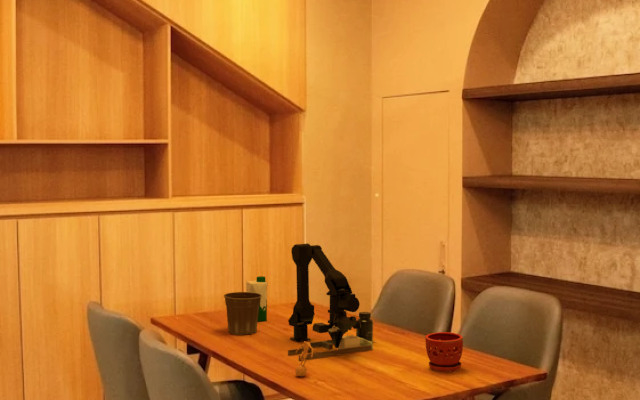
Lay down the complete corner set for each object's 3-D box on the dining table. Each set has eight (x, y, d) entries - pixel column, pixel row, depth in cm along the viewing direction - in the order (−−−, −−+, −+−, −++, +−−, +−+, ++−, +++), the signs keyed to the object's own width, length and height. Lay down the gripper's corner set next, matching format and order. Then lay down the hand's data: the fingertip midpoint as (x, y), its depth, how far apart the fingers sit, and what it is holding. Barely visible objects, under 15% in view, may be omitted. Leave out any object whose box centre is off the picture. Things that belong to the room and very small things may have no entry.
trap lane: (280, 351, 300) (280, 344, 299) (351, 341, 316) (352, 334, 316) (299, 361, 286) (299, 353, 286) (372, 349, 303) (372, 342, 303)
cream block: (337, 349, 303) (337, 337, 303) (352, 347, 307) (352, 334, 306) (344, 352, 299) (344, 339, 298) (359, 350, 302) (359, 337, 302)
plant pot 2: (437, 361, 286) (437, 329, 285) (469, 368, 278) (469, 335, 277) (418, 369, 276) (418, 336, 275) (450, 376, 268) (451, 341, 267)
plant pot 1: (264, 328, 340) (264, 292, 339) (258, 337, 324) (258, 298, 323) (228, 327, 341) (228, 291, 340) (220, 336, 325) (219, 298, 324)
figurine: (288, 375, 268) (288, 340, 268) (301, 371, 272) (301, 338, 272) (304, 380, 262) (305, 345, 262) (317, 376, 266) (317, 342, 266)
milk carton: (269, 321, 353) (269, 278, 352) (250, 323, 350) (250, 279, 348) (262, 317, 361) (262, 275, 360) (244, 319, 358) (244, 276, 356)
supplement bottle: (371, 344, 312) (371, 314, 311) (354, 343, 313) (355, 314, 312) (373, 340, 319) (374, 311, 318) (357, 339, 320) (357, 310, 319)
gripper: (326, 314, 287) (326, 355, 288) (368, 309, 296) (368, 349, 297) (311, 308, 297) (311, 349, 298) (353, 304, 306) (352, 343, 307)
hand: (336, 347), depth 300 cm, fingers closed
